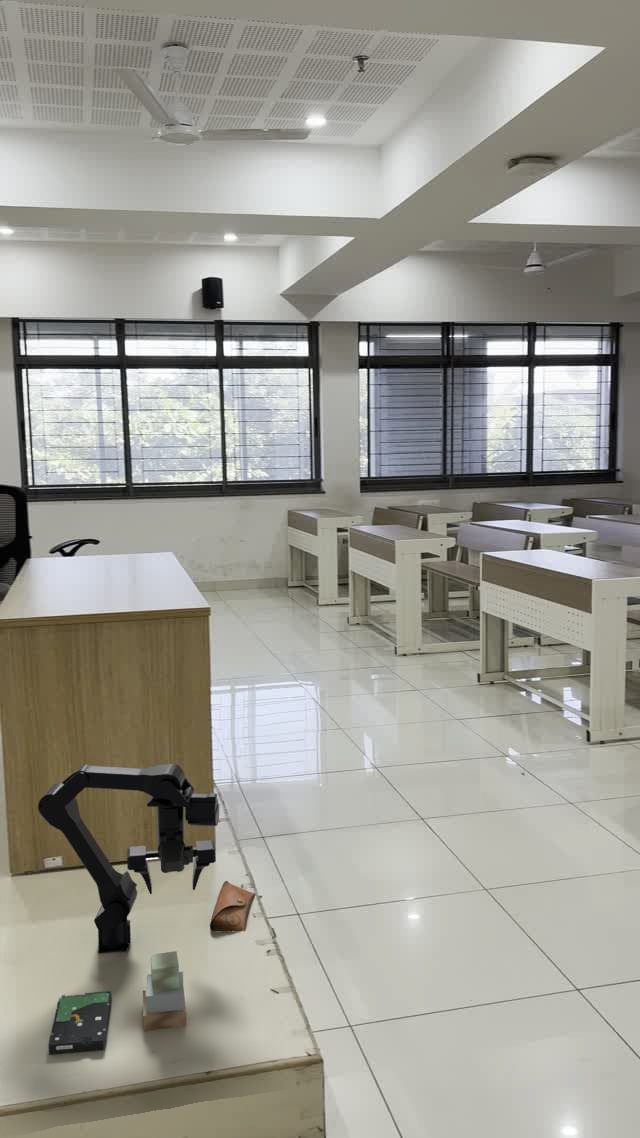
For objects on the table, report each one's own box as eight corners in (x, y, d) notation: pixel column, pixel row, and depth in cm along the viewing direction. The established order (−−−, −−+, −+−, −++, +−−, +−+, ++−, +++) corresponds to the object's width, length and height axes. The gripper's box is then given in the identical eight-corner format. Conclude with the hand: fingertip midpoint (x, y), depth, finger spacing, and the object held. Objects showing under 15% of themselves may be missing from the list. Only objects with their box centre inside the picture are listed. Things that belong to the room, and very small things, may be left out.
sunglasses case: (247, 932, 210) (231, 908, 209) (220, 946, 211) (205, 922, 210) (256, 892, 227) (242, 869, 227) (231, 904, 228) (217, 882, 228)
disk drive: (106, 1053, 171) (112, 1002, 186) (105, 1039, 171) (111, 989, 185) (48, 1058, 170) (58, 1006, 184) (47, 1045, 169) (58, 993, 184)
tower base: (143, 1032, 177) (143, 1016, 176) (143, 1006, 184) (142, 990, 184) (186, 1027, 178) (186, 1011, 178) (183, 1001, 186) (183, 985, 185)
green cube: (153, 993, 177) (152, 969, 176) (151, 977, 182) (150, 954, 181) (179, 989, 178) (178, 965, 178) (177, 974, 183) (176, 951, 182)
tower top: (146, 1013, 177) (145, 996, 176) (147, 990, 184) (147, 974, 183) (183, 1009, 178) (182, 993, 177) (183, 987, 185) (183, 971, 184)
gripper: (125, 844, 190) (128, 915, 193) (217, 837, 194) (218, 906, 196) (126, 821, 201) (128, 888, 204) (213, 814, 204) (214, 880, 207)
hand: (172, 891), depth 202 cm, fingers open, 9 cm apart
